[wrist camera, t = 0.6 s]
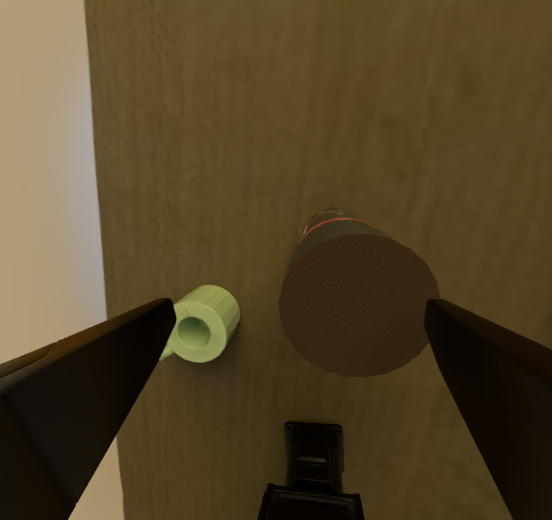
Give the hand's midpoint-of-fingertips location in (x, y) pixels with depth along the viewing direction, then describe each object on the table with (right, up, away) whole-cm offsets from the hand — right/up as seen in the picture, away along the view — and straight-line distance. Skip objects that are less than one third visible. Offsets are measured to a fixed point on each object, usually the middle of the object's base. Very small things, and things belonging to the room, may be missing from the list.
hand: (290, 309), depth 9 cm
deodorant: (+5, +4, +15) cm, 16 cm away
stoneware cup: (-8, -5, +19) cm, 22 cm away
